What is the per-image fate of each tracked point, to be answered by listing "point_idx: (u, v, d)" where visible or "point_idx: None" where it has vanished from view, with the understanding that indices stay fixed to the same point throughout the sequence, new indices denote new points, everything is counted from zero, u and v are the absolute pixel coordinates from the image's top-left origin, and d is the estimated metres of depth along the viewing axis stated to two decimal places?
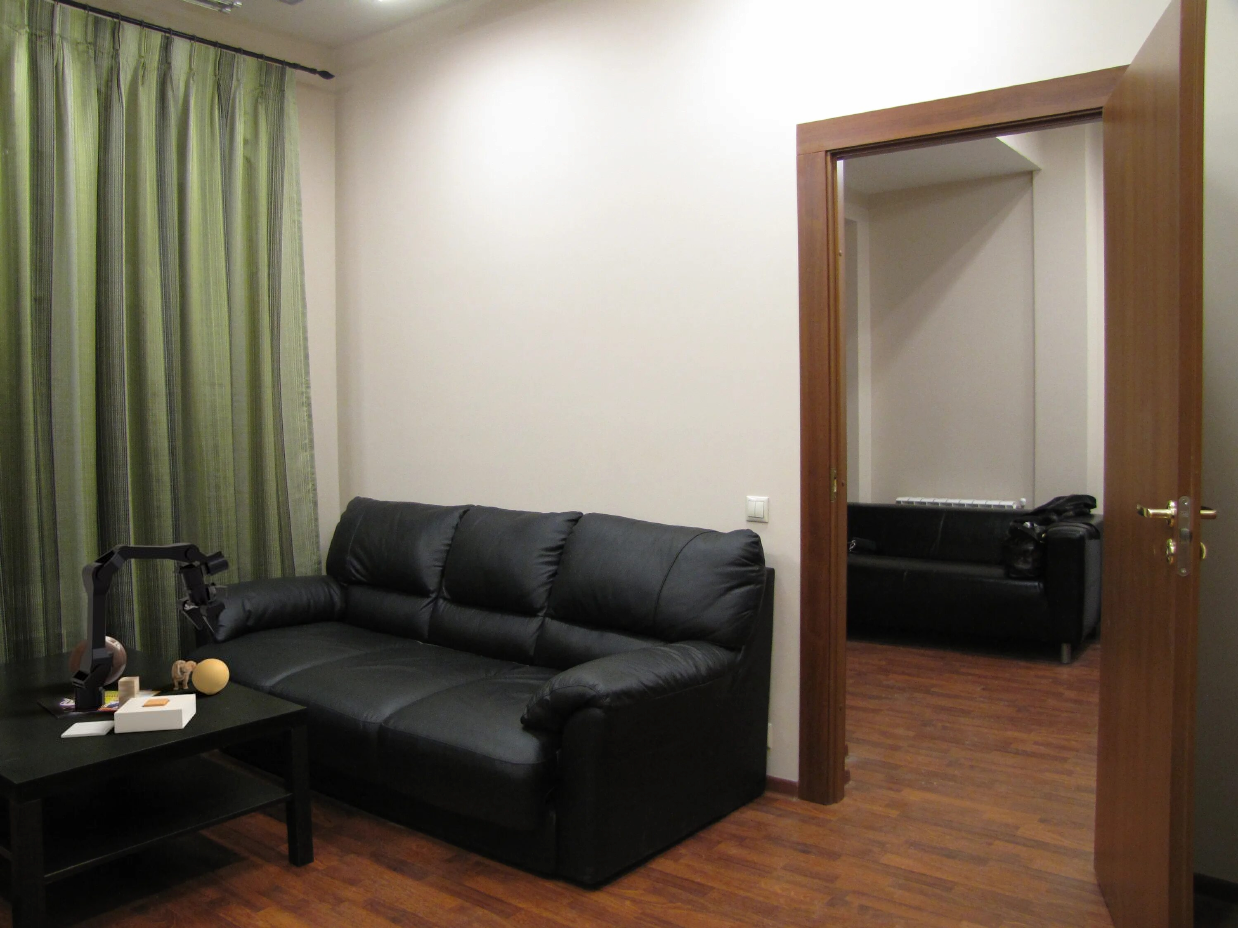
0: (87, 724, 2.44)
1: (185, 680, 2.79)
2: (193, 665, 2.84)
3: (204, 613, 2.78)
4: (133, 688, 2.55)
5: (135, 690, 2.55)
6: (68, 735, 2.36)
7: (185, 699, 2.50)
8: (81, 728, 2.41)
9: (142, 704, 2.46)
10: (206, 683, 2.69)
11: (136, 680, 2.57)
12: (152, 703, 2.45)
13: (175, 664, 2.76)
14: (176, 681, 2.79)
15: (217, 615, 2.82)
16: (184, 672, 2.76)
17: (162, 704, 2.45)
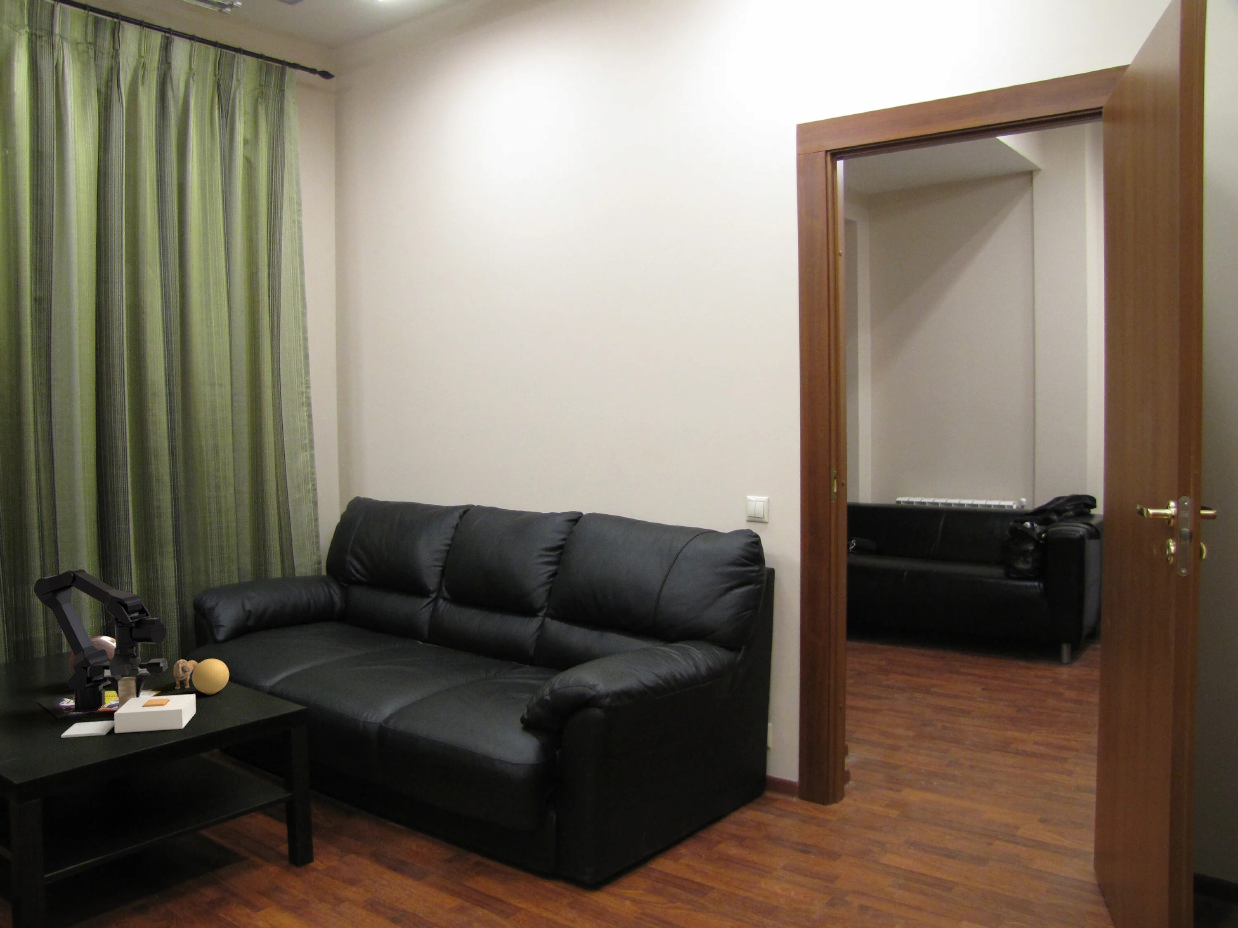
0: (87, 724, 2.44)
1: (187, 679, 2.80)
2: (194, 664, 2.85)
3: None
4: (133, 688, 2.55)
5: (135, 690, 2.55)
6: (68, 735, 2.36)
7: (185, 699, 2.50)
8: (81, 728, 2.41)
9: (142, 704, 2.46)
10: (206, 683, 2.69)
11: (136, 680, 2.57)
12: (152, 703, 2.45)
13: (177, 663, 2.76)
14: (178, 680, 2.80)
15: None
16: (186, 671, 2.77)
17: (162, 704, 2.45)
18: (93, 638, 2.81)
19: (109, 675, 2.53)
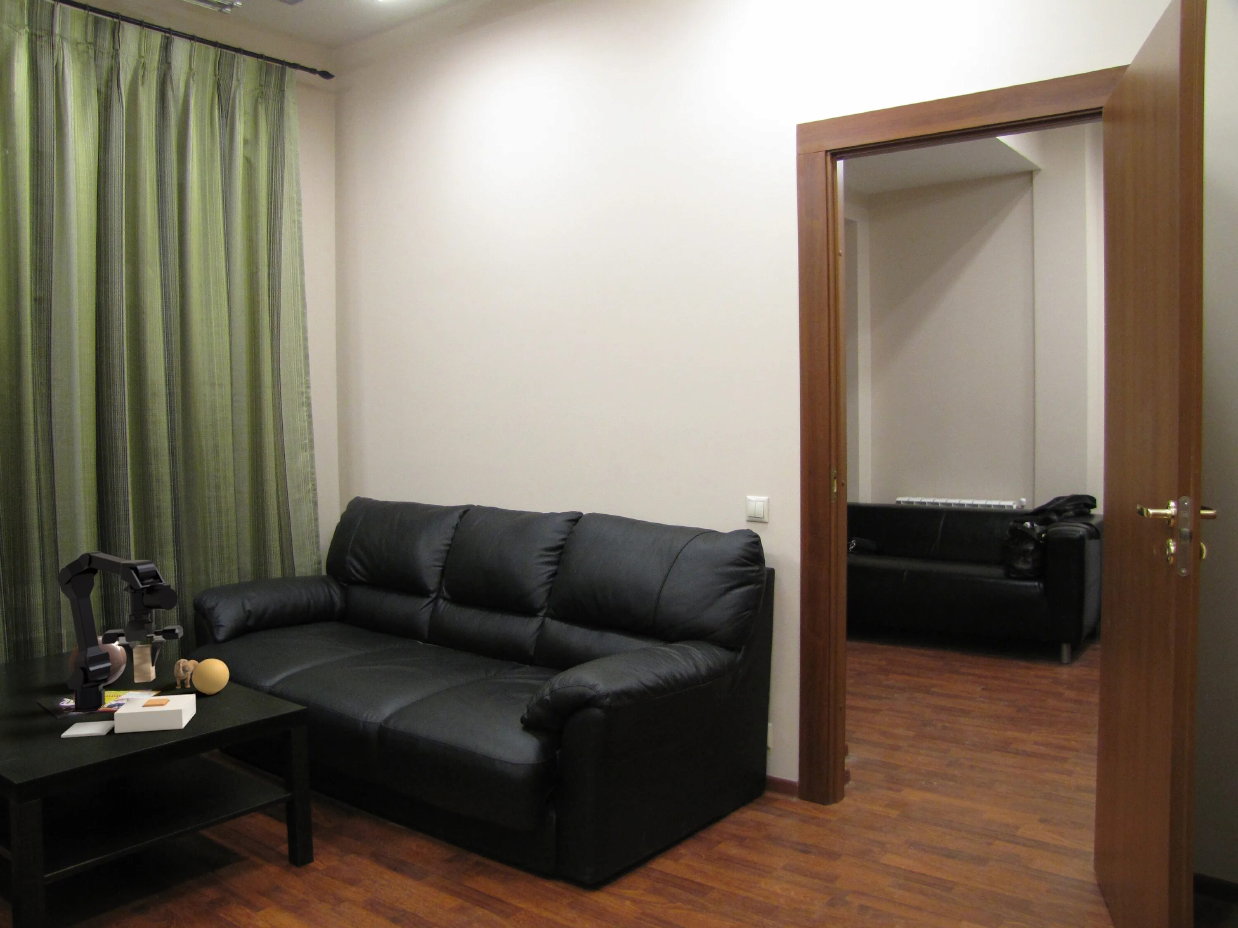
0: (87, 724, 2.44)
1: (187, 679, 2.81)
2: (195, 664, 2.86)
3: None
4: (149, 656, 2.49)
5: (150, 658, 2.50)
6: (68, 735, 2.36)
7: (185, 699, 2.50)
8: (81, 728, 2.41)
9: (142, 704, 2.46)
10: (206, 683, 2.69)
11: (151, 647, 2.51)
12: (152, 703, 2.45)
13: (178, 663, 2.77)
14: (178, 680, 2.80)
15: None
16: (187, 671, 2.77)
17: (162, 704, 2.45)
18: None
19: (124, 642, 2.48)
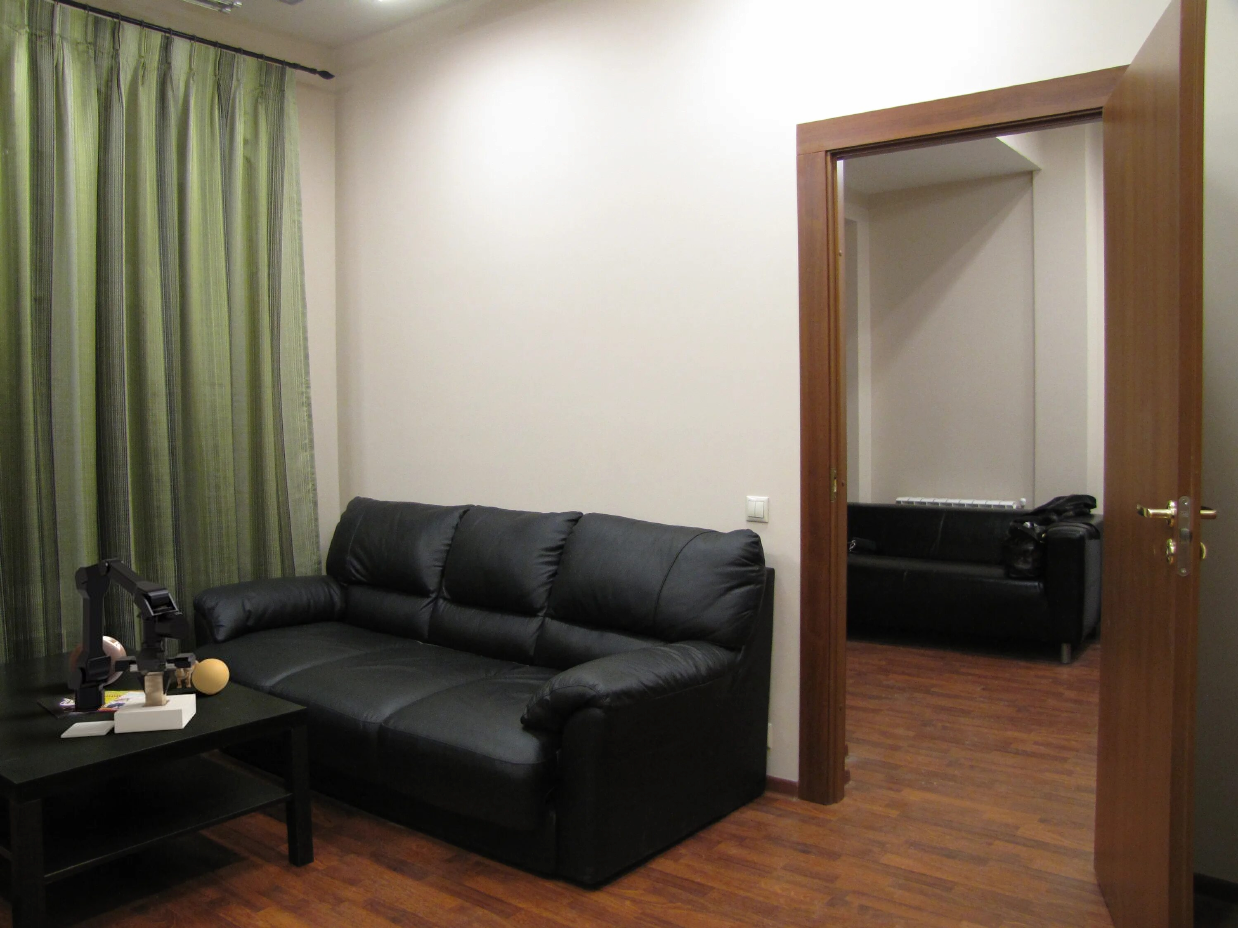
0: (87, 724, 2.44)
1: (188, 678, 2.81)
2: (195, 663, 2.86)
3: None
4: (161, 684, 2.45)
5: (162, 686, 2.46)
6: (68, 735, 2.36)
7: (185, 699, 2.50)
8: (81, 728, 2.41)
9: (142, 704, 2.46)
10: (206, 683, 2.69)
11: (163, 675, 2.47)
12: None
13: None
14: (179, 679, 2.80)
15: None
16: (187, 670, 2.78)
17: None
18: None
19: (135, 670, 2.44)
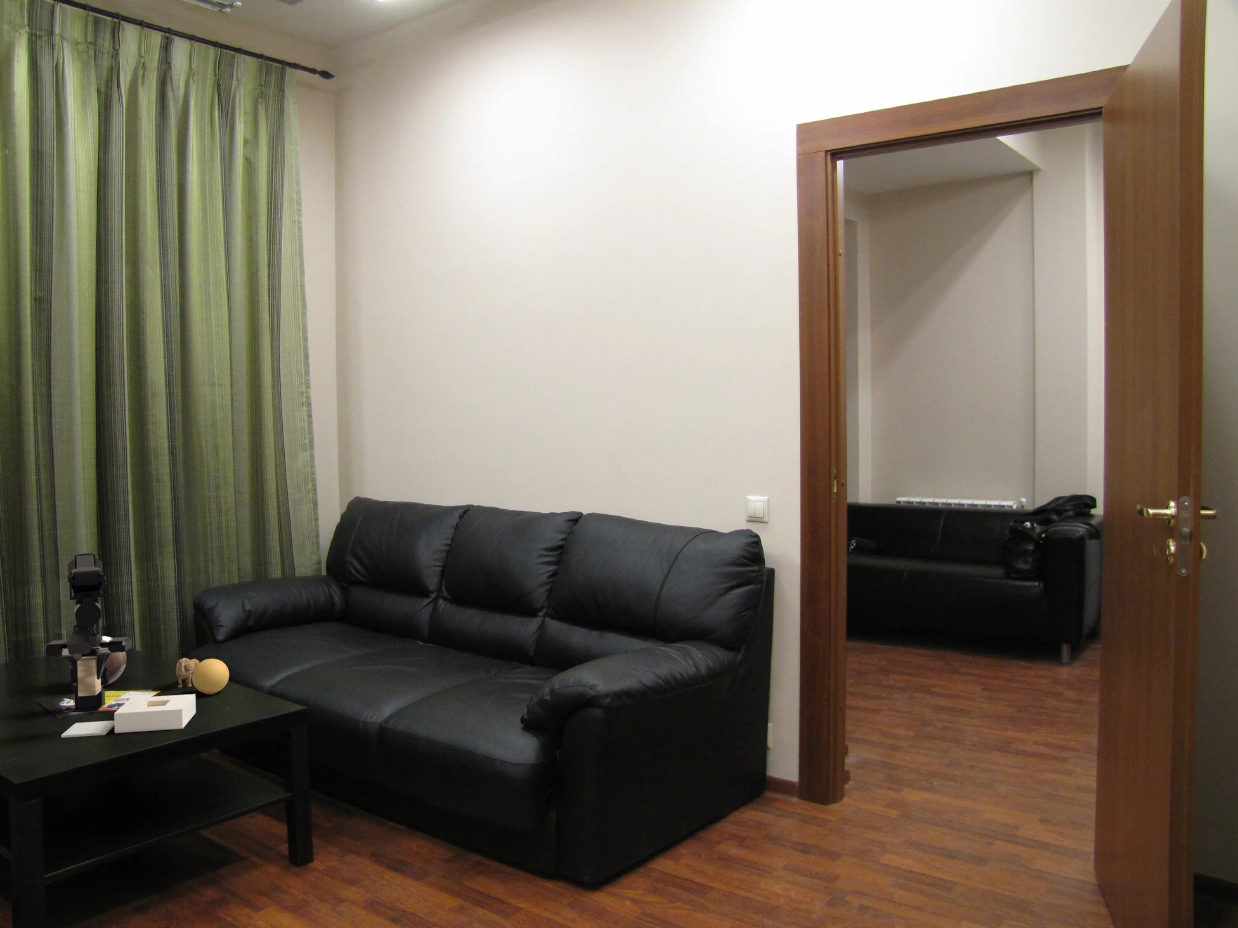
0: (87, 724, 2.44)
1: (189, 678, 2.82)
2: (196, 663, 2.87)
3: None
4: (94, 669, 2.39)
5: (95, 671, 2.39)
6: (68, 735, 2.36)
7: (185, 699, 2.50)
8: (81, 728, 2.41)
9: (142, 704, 2.46)
10: (206, 683, 2.69)
11: (97, 660, 2.41)
12: None
13: (179, 662, 2.78)
14: (180, 679, 2.81)
15: None
16: (188, 670, 2.79)
17: None
18: None
19: (68, 654, 2.37)
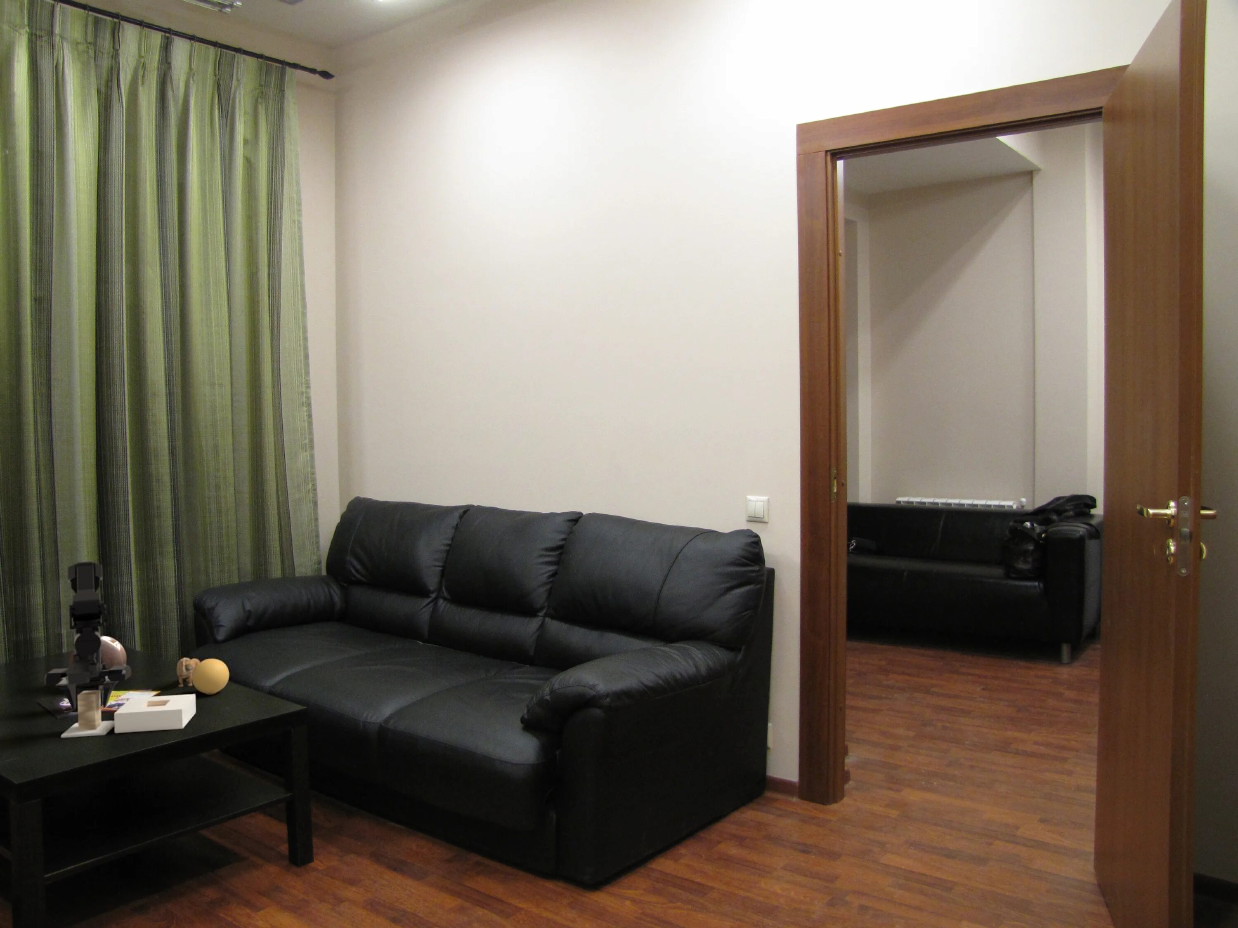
0: None
1: (190, 677, 2.82)
2: (197, 662, 2.87)
3: None
4: (94, 703, 2.39)
5: (95, 705, 2.40)
6: (68, 735, 2.36)
7: (185, 699, 2.50)
8: None
9: (142, 704, 2.46)
10: (206, 683, 2.69)
11: (97, 694, 2.41)
12: None
13: (180, 661, 2.79)
14: (181, 678, 2.82)
15: None
16: (189, 669, 2.79)
17: None
18: None
19: (61, 683, 2.37)
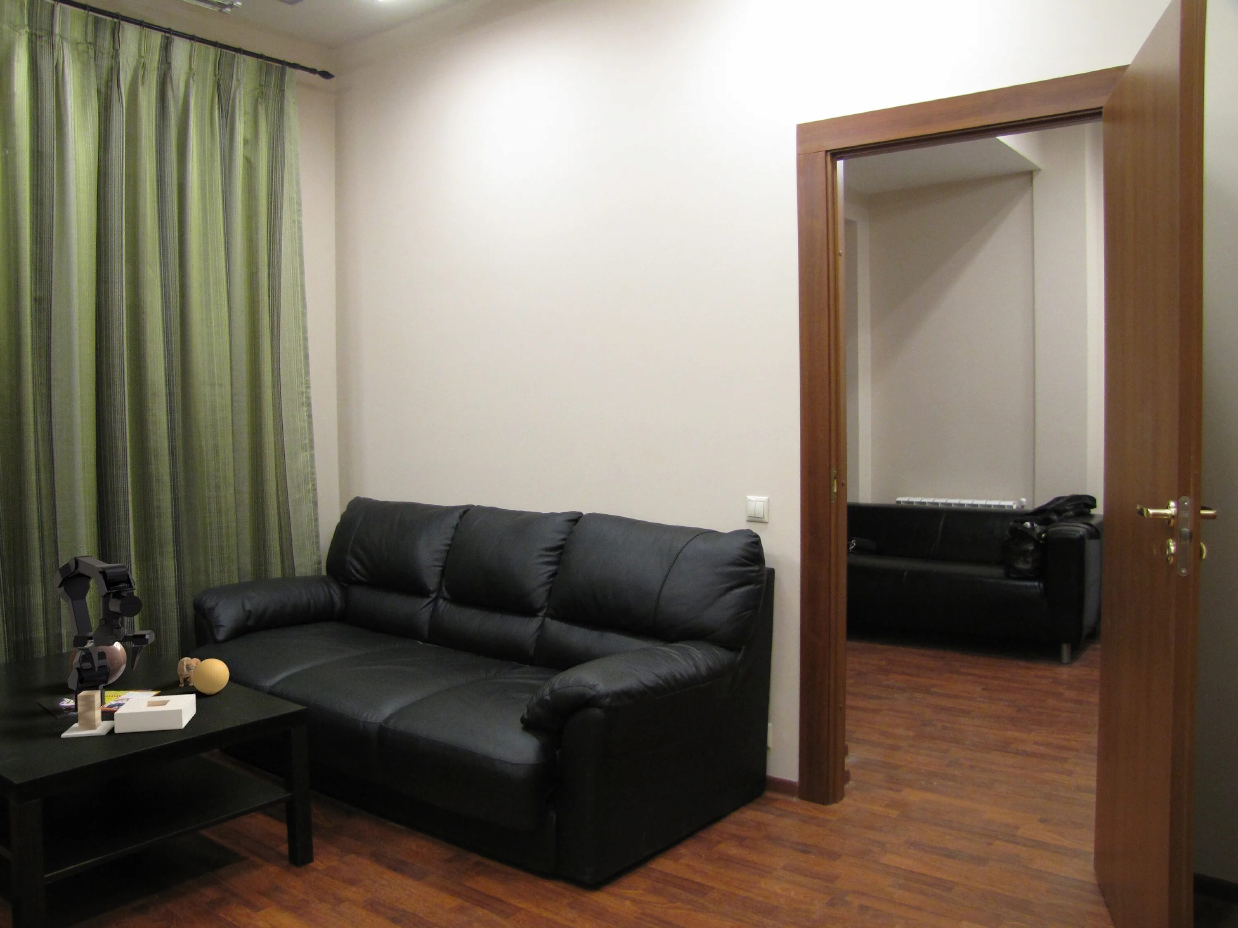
0: None
1: (190, 677, 2.83)
2: (197, 662, 2.88)
3: None
4: (94, 703, 2.39)
5: (95, 705, 2.40)
6: (68, 735, 2.36)
7: (185, 699, 2.50)
8: None
9: (142, 704, 2.46)
10: (206, 683, 2.69)
11: (97, 694, 2.41)
12: None
13: (181, 661, 2.79)
14: (181, 678, 2.82)
15: None
16: (190, 669, 2.80)
17: None
18: None
19: (84, 647, 2.46)
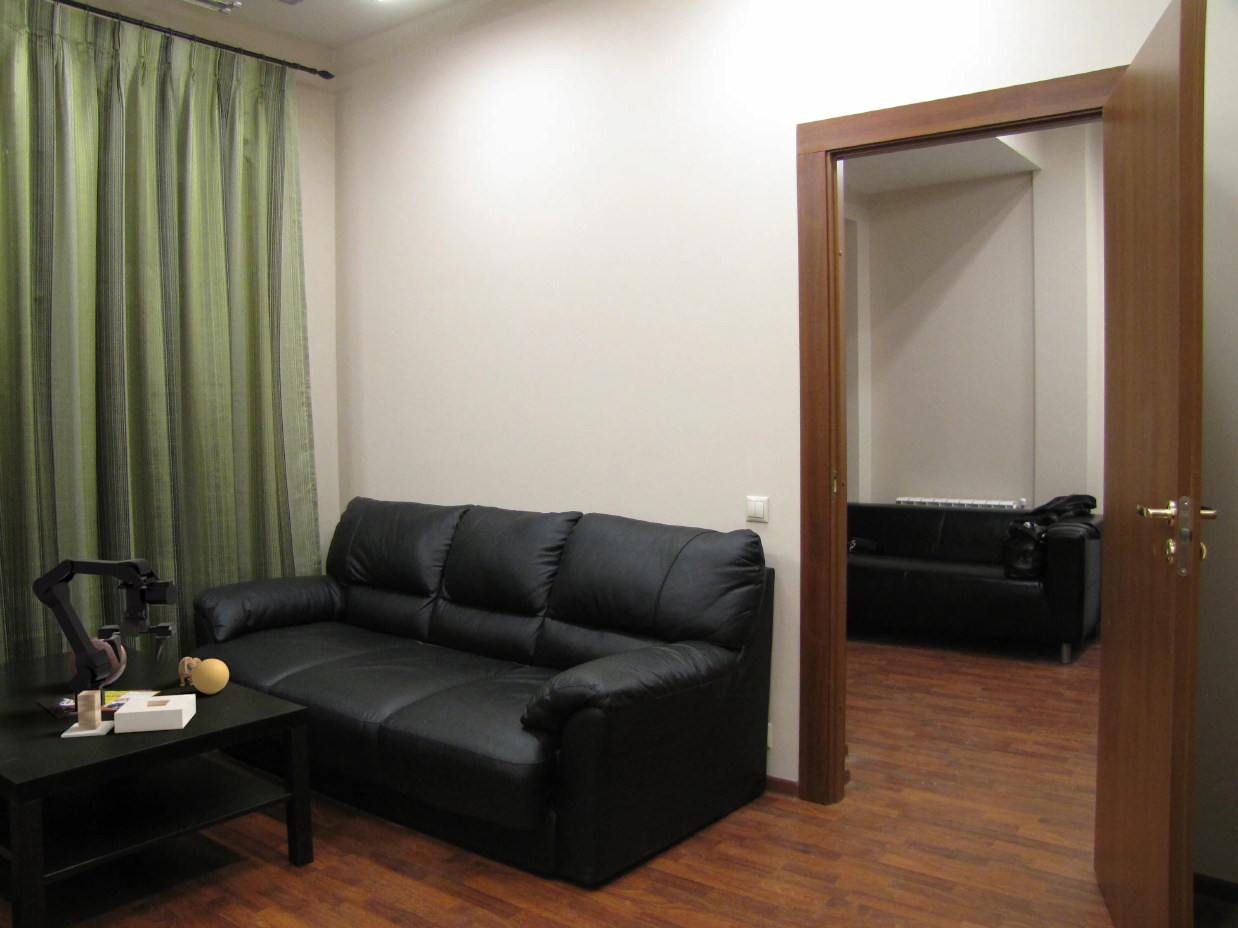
0: None
1: (191, 676, 2.83)
2: (198, 662, 2.89)
3: None
4: (94, 703, 2.39)
5: (95, 705, 2.40)
6: (68, 735, 2.36)
7: (185, 699, 2.50)
8: None
9: (142, 704, 2.46)
10: (206, 683, 2.69)
11: (97, 694, 2.41)
12: None
13: (182, 661, 2.80)
14: (182, 677, 2.83)
15: None
16: (191, 668, 2.80)
17: None
18: (93, 638, 2.81)
19: (109, 638, 2.55)
